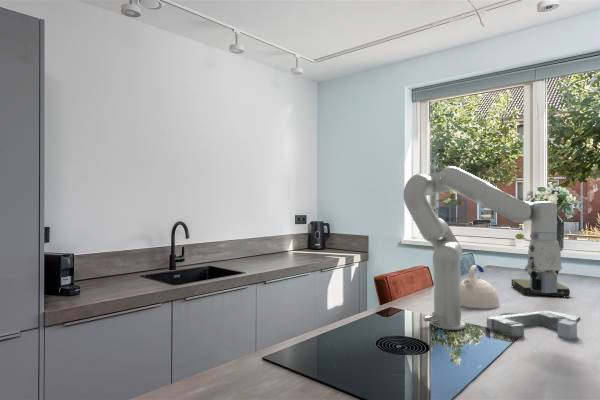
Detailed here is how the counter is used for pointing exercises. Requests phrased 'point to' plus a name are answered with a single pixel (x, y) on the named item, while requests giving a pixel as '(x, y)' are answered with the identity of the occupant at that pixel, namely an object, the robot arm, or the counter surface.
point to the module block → (547, 282)
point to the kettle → (478, 292)
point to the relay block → (567, 329)
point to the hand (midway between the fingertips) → (543, 289)
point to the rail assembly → (522, 322)
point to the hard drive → (567, 316)
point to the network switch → (524, 288)
